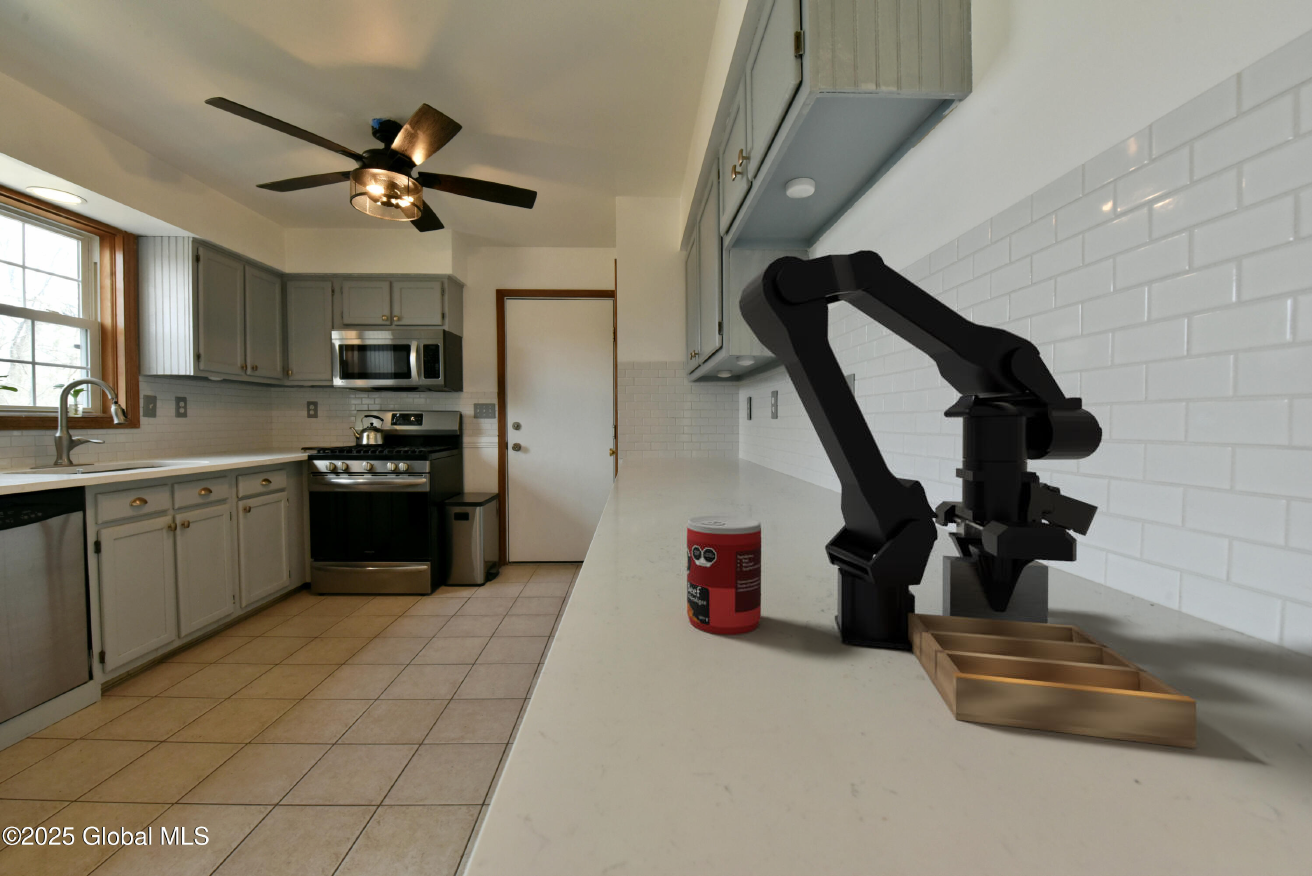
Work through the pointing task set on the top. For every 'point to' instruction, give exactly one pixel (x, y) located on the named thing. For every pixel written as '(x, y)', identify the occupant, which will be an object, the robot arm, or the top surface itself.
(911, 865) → the top surface
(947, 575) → the panel
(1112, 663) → the tray
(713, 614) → the canned food
